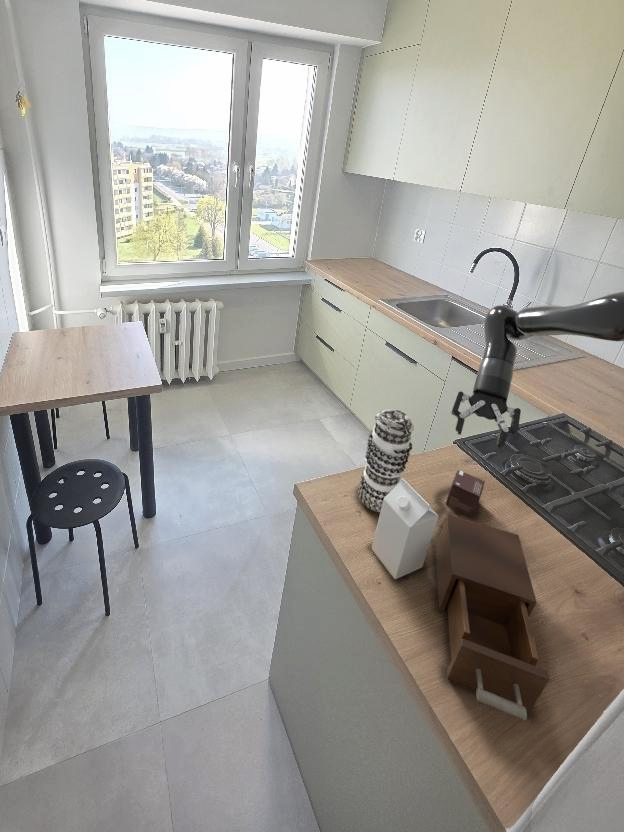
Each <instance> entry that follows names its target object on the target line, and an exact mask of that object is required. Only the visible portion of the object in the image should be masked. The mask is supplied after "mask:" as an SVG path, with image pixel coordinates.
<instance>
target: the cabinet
mask: <svg viewBox="0 0 624 832" xmlns="http://www.w3.org/2000/svg"><path fill="white" fill-rule="evenodd" d="M435 555H436V575H437V592H438V594H437V595H438V609H439V610H440V611H445V610H446V607H447V604H448V601H449V598H450V595H451V593H452V590H453V588H454V585H455V582H456V580H457V579H460V580H463V581H465V582H468V583H471V584H474V585H477V586H480V587H483V588H486V589H489V590H492V591H495V592H498V593H501V594H503V595H506V596H509V597H512V598H515V599H518V600H521V601H524V602H525V604H526V609H527V613H528V617H529V618H530V616H531V614H532V612H533V610H534V608H535V606H536V604H537V599H536V595H535V591H534V587H533V584H532V580H531V576H530V572H529V569H528V564H527V562H526V559H525V554H524V550H523V546H522V542H521V540H520V536H519V534H517V533H513V532H509V531H506V530H503V529H499V528H496V527H492V526H490V525H486V524H483V523H480V522H476V521H473V520H469V519H467V518H464V517H463V518H462V517H459V516H456V515H453V514H449V513H446V515H445V519H444V522H443V525H442V527H441V531H440V534H439V537H438V540H437V543H436V545H435Z"/></svg>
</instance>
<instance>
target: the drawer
mask: <svg viewBox="0 0 624 832" xmlns="http://www.w3.org/2000/svg"><path fill="white" fill-rule="evenodd" d="M446 607H447V621H448V633H449V647H450V649H449V650H450V662H449V664H448V667H447V670H446V679H448V680H450V681H453V682H455V683H457V684H459V685H463V686H465V687H467V688H469V689H472V690H474V691H475V697H476V700H477V702H480V703H482V704H485V705H488V706H489V707H491V708H495V709H497V710H499V711H502V712H504V713H506V714H508V715H511V716H514V717H516V718H518V719H520V720H523V721H526V720H527V717H528V713H530V712H531V711H532V710H533V708H534V706H535V705H536V703H537V701H538V699H539V698H540V696H541V695H542V693H543V691H544V690H545V688H546V687H547V685H548V683H549V682H550V680H551V679H550V675H549V671H548V670H546V669H544V668H541V667H538V666H537V664H538V662H539V660H540V659H539V655H538V654H539V653H538V651H537V646H536V642H535V637H534V634H533V629H532V625H531V622H530V616H529V617H528V613H527V609H526V604H525V602H524V601H521V600H518V599H515V598H512V597H509V596H506V595H503V594H501V593H498V592H495V591H492V590H489V589H486V588H483V587H480V586H477V585H474V584H471V583H468V582H465V581H463V580H460V579H457V578H456V581H455V584H454V586H453V589H452V591H451V594H450V597H449V599H448V602H447V604H446ZM527 712H528V713H527Z"/></svg>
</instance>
